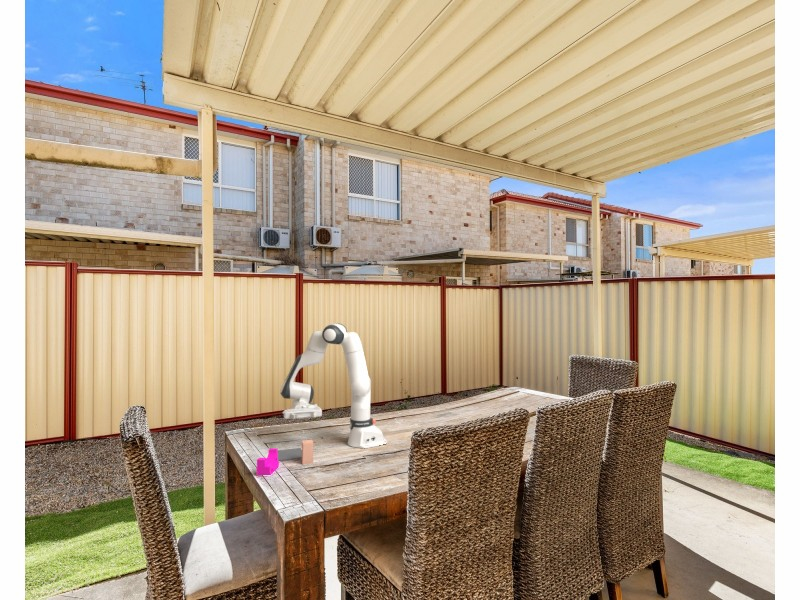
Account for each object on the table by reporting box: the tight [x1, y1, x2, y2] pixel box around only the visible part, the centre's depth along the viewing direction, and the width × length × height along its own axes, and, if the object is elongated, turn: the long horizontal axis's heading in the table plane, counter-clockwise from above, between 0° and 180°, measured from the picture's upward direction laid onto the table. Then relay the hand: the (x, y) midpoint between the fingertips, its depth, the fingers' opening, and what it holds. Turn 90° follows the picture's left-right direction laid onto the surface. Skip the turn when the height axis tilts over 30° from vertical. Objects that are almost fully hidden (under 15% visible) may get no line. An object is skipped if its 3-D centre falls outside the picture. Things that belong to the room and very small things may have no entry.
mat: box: [278, 447, 302, 462], centre depth 204 cm, size 14×14×1 cm
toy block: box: [256, 447, 280, 476], centre depth 186 cm, size 15×6×8 cm, turn 175°
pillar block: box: [301, 439, 314, 465], centre depth 196 cm, size 5×5×10 cm
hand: (304, 416), depth 207 cm, fingers open, 8 cm apart
